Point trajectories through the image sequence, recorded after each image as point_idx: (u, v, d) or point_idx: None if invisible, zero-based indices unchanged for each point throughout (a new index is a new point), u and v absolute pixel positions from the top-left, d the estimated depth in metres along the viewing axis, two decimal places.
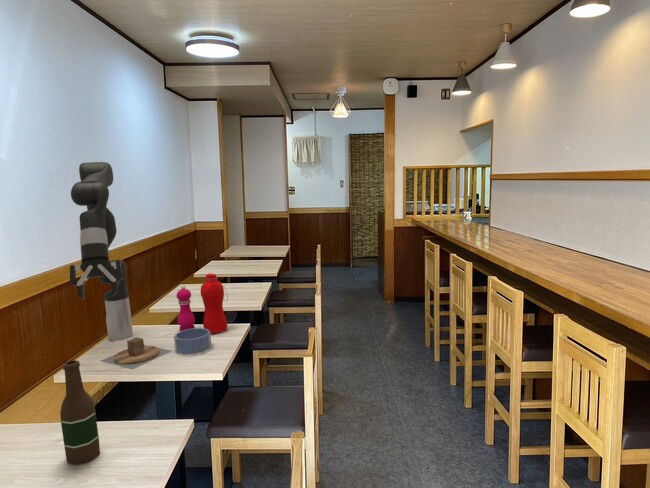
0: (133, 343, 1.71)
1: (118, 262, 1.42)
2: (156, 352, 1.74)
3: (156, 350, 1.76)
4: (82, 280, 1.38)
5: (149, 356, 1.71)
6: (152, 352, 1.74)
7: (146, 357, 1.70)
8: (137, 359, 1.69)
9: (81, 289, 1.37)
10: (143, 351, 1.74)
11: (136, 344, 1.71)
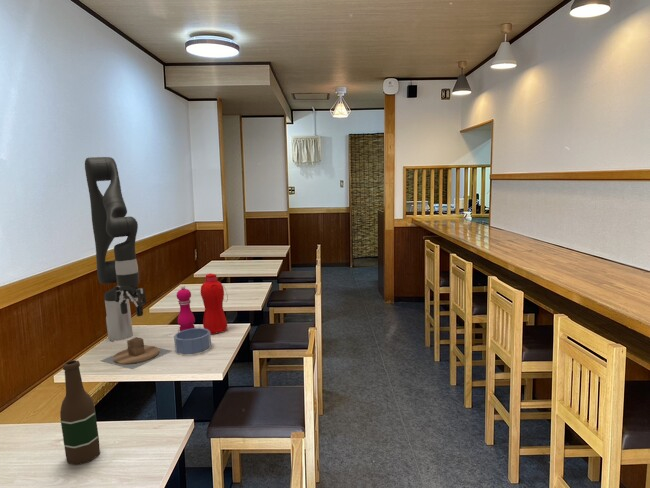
0: (133, 343, 1.71)
1: (138, 291, 1.66)
2: (156, 352, 1.74)
3: (156, 350, 1.76)
4: (121, 300, 1.72)
5: (149, 356, 1.71)
6: (152, 352, 1.74)
7: (146, 357, 1.70)
8: (137, 358, 1.69)
9: (121, 307, 1.72)
10: (143, 351, 1.74)
11: (136, 344, 1.71)
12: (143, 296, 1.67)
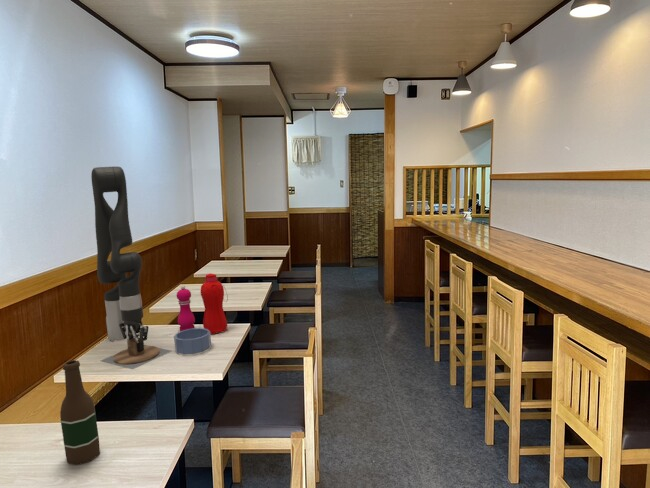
0: (133, 343, 1.71)
1: (142, 330, 1.68)
2: (156, 352, 1.74)
3: (156, 350, 1.76)
4: (128, 336, 1.73)
5: (149, 356, 1.71)
6: (152, 352, 1.74)
7: (146, 357, 1.70)
8: (137, 359, 1.69)
9: None
10: (143, 351, 1.74)
11: (136, 344, 1.71)
12: (145, 334, 1.70)
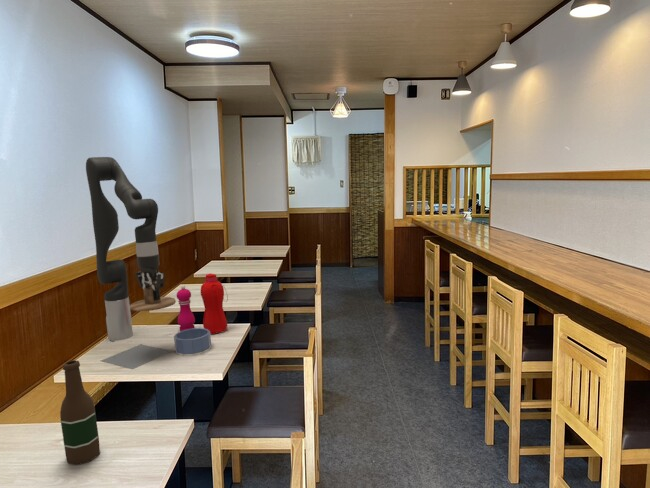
0: (149, 291, 1.69)
1: (158, 276, 1.66)
2: (172, 301, 1.72)
3: (172, 300, 1.74)
4: (144, 285, 1.71)
5: (165, 304, 1.69)
6: (168, 301, 1.73)
7: (162, 305, 1.68)
8: (153, 306, 1.67)
9: None
10: (159, 300, 1.72)
11: (152, 292, 1.69)
12: (162, 281, 1.68)
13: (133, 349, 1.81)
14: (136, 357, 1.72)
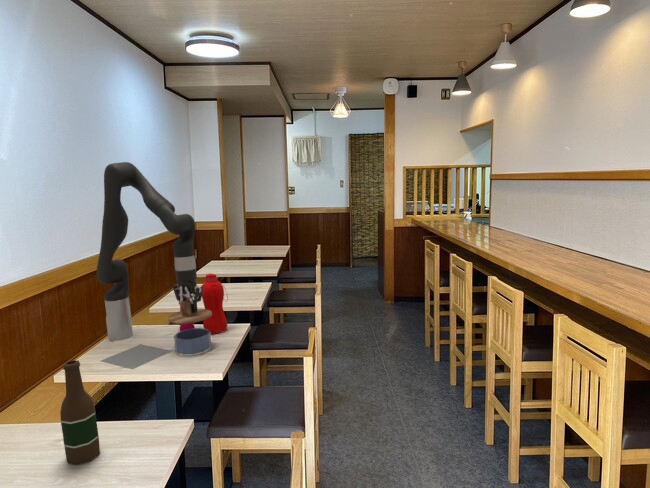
0: (187, 304, 1.73)
1: (197, 290, 1.71)
2: (209, 313, 1.77)
3: (208, 312, 1.79)
4: (181, 298, 1.75)
5: (203, 316, 1.73)
6: (205, 313, 1.77)
7: (200, 317, 1.72)
8: (191, 319, 1.71)
9: None
10: (196, 312, 1.76)
11: (190, 305, 1.74)
12: (200, 295, 1.73)
13: (133, 349, 1.81)
14: (136, 357, 1.72)
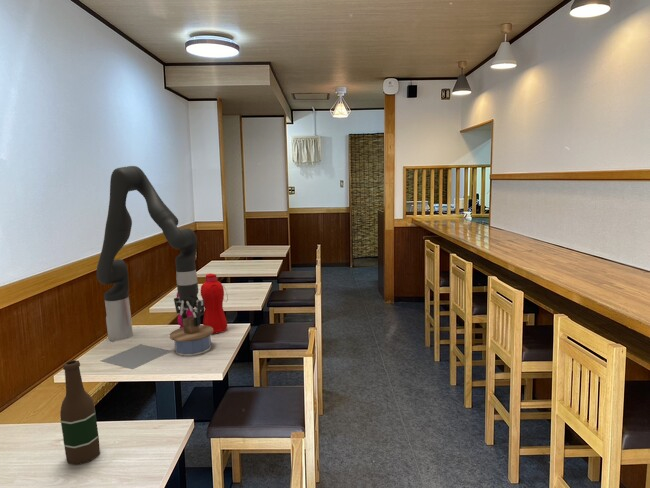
0: (189, 321, 1.74)
1: (198, 303, 1.71)
2: (211, 330, 1.78)
3: (210, 328, 1.80)
4: (182, 311, 1.77)
5: (205, 334, 1.74)
6: (207, 330, 1.78)
7: (202, 335, 1.73)
8: (193, 336, 1.72)
9: (182, 318, 1.77)
10: (198, 329, 1.78)
11: (192, 322, 1.75)
12: (202, 308, 1.73)
13: (133, 349, 1.81)
14: (136, 357, 1.72)
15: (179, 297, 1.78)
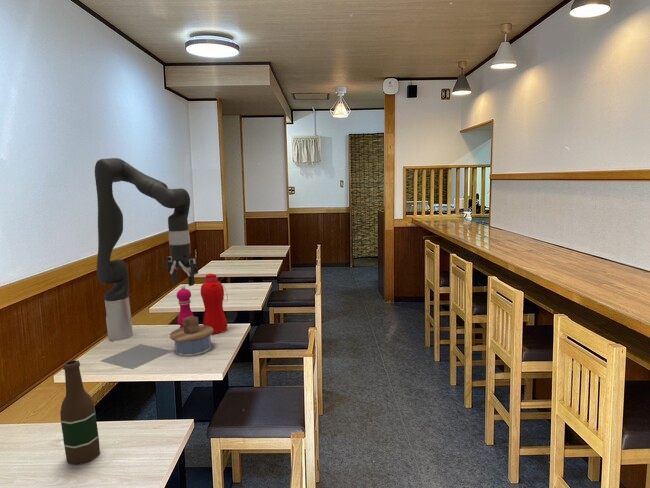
0: (189, 321, 1.74)
1: (191, 261, 1.71)
2: (211, 330, 1.78)
3: (210, 328, 1.80)
4: (172, 270, 1.76)
5: (205, 334, 1.74)
6: (207, 330, 1.78)
7: (202, 335, 1.73)
8: (193, 336, 1.72)
9: (172, 277, 1.77)
10: (198, 329, 1.78)
11: (192, 322, 1.75)
12: (195, 266, 1.72)
13: (133, 349, 1.81)
14: (136, 357, 1.72)
15: (171, 257, 1.77)
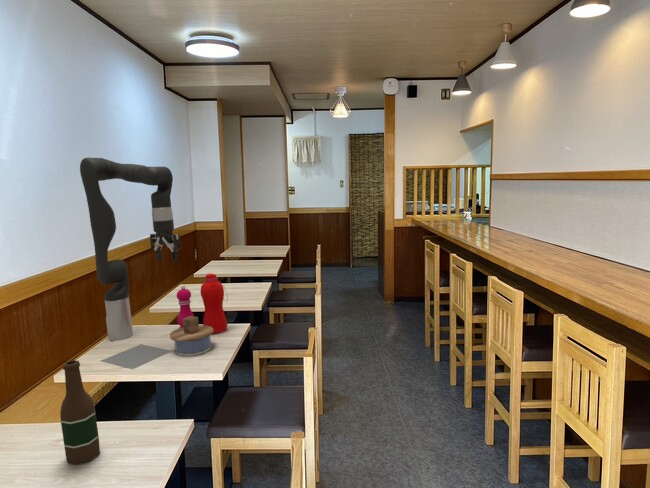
0: (189, 321, 1.74)
1: (173, 236, 1.75)
2: (211, 330, 1.78)
3: (210, 328, 1.80)
4: (156, 247, 1.81)
5: (205, 334, 1.74)
6: (207, 330, 1.78)
7: (202, 335, 1.73)
8: (193, 336, 1.72)
9: (156, 253, 1.82)
10: (198, 329, 1.78)
11: (192, 322, 1.75)
12: (178, 242, 1.77)
13: (133, 349, 1.81)
14: (136, 357, 1.72)
15: (155, 234, 1.82)
